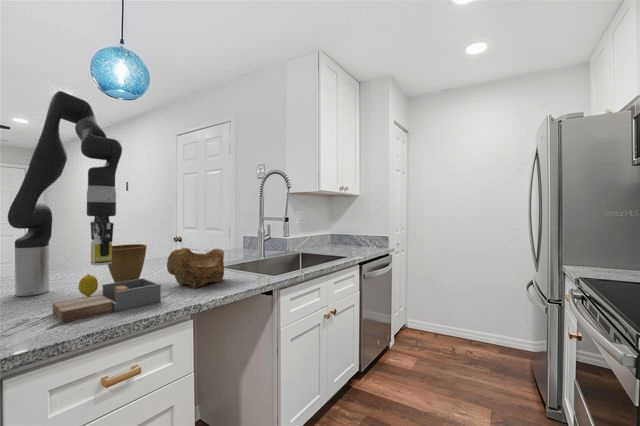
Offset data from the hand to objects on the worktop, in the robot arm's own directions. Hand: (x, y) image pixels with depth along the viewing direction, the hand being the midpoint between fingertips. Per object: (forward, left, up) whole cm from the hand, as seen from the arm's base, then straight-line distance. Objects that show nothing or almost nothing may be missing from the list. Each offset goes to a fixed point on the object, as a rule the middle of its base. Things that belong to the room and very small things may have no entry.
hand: (101, 254), depth 98 cm
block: (0, +4, -14) cm, 15 cm away
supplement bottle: (0, 0, -3) cm, 3 cm away
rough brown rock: (-6, +36, -17) cm, 40 cm away
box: (0, +8, -17) cm, 19 cm away
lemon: (-19, +1, -17) cm, 26 cm away
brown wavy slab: (0, -5, -17) cm, 18 cm away
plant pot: (-28, +16, -17) cm, 37 cm away
